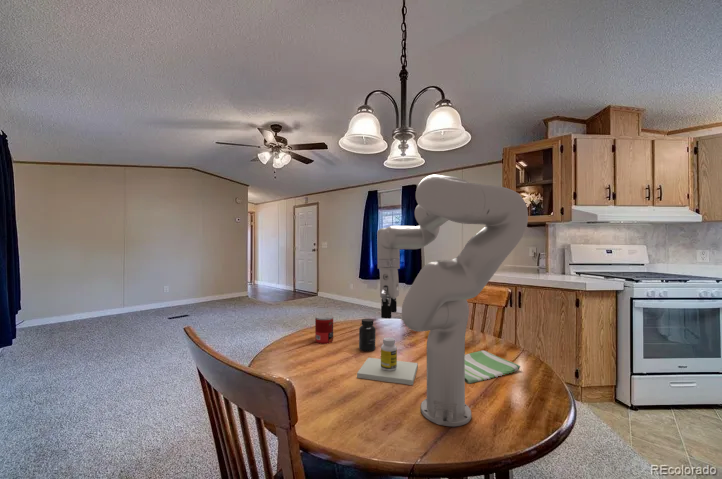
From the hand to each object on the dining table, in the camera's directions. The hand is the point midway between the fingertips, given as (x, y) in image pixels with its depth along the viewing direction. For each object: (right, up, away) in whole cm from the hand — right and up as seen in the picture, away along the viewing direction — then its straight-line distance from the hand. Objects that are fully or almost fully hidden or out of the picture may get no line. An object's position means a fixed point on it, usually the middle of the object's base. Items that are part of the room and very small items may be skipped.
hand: (389, 314), depth 103 cm
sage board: (0, -20, 0) cm, 20 cm away
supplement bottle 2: (0, -18, 0) cm, 18 cm away
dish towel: (+31, -20, +4) cm, 38 cm away
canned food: (-26, -20, +33) cm, 47 cm away
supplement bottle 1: (-7, -20, +23) cm, 31 cm away
